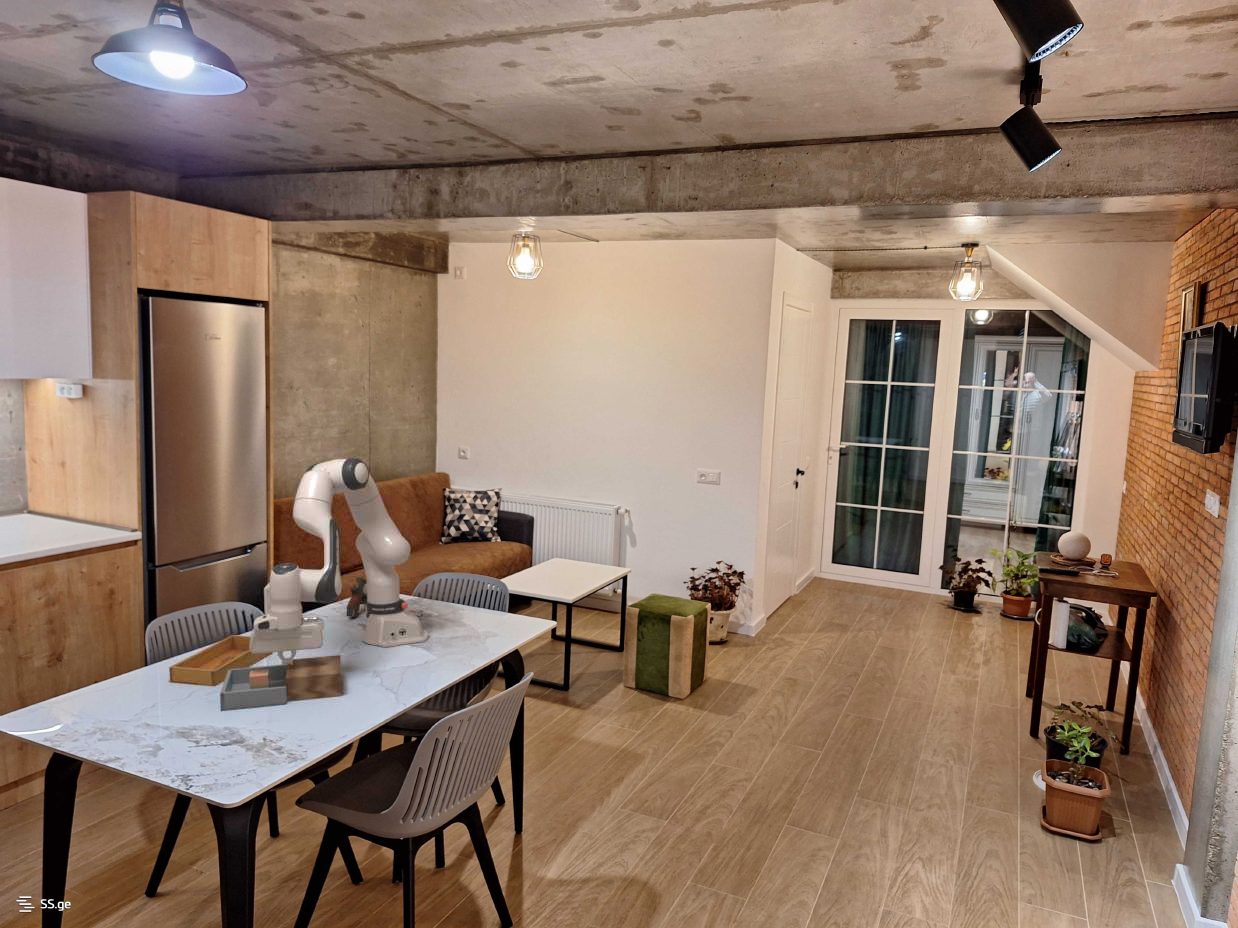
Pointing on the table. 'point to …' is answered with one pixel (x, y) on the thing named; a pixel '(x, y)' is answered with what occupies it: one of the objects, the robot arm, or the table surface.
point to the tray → (215, 662)
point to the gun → (357, 597)
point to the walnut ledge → (313, 678)
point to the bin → (242, 697)
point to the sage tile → (261, 686)
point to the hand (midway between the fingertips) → (287, 664)
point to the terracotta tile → (259, 678)
